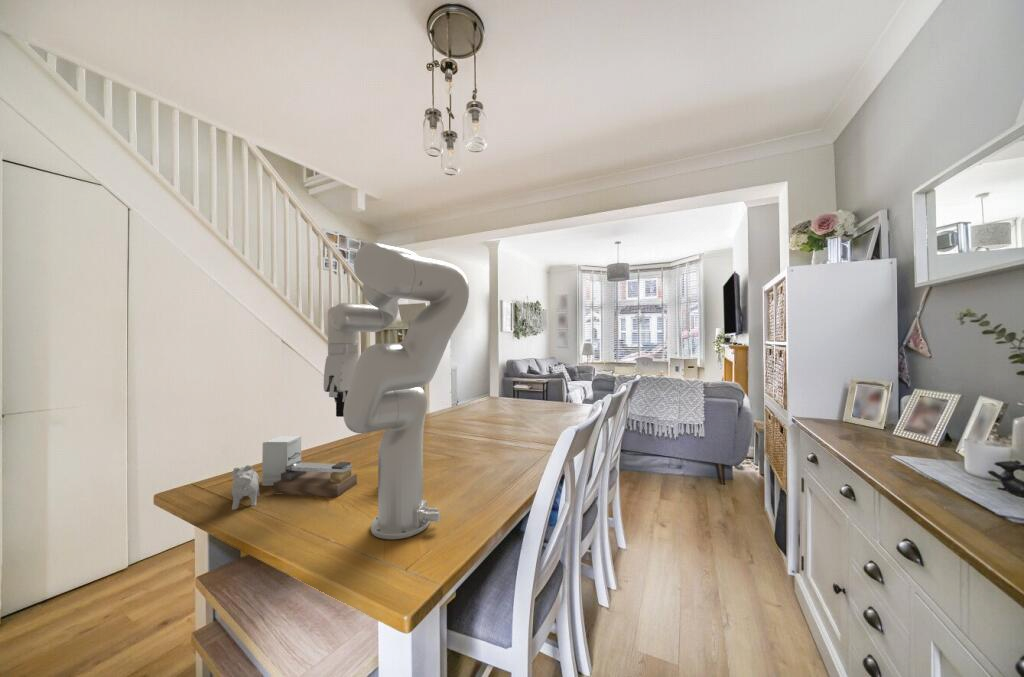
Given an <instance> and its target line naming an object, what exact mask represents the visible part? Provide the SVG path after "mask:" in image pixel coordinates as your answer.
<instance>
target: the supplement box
mask: <svg viewBox="0 0 1024 677" xmlns="http://www.w3.org/2000/svg"><path fill="white" fill-rule="evenodd" d="M261 458H262V460H261V461H262V465H261V466H262V469H261V470H262V471H261V476H262V477H261V486H264V487H265V486H268V487H270V486H271V487H272V486H273V482H276V481H278V480H280V479H281V473H283V472H285V471H286V470H285V468H286V466H289V465H291V464H293V463H295V462H298V461H301V462H302V436H301V435H297V436H295V435H286V436H285V435H284V436H277V437H274V438H271V439H269V440H266V441H263V442H262V457H261Z"/></svg>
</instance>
